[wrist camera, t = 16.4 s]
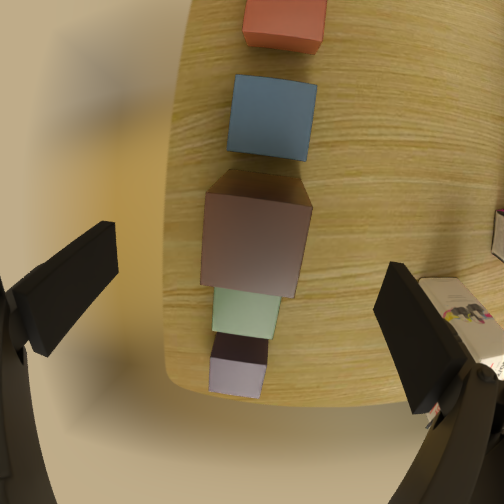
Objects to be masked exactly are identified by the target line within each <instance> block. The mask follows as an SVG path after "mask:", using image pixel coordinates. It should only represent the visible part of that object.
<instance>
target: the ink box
mask: <svg viewBox="0 0 504 504" xmlns="http://www.w3.org/2000/svg"><path fill="white" fill-rule="evenodd" d="M418 284H419V285H420V286H421V288H422V289H423V290H424V292H425V293H426V295H427V296H428V298H429V299H430V300H431V302H432V303H433V305H434V306H435V308H436V309H437V311H438V312H439V314H440V315H441V317H442V318H445V319H446V320H447V321H448V322H449V323H450V324H451V325H453V327H454V328H455V330H456V331H457V333H458V336H460V337H461V339H462V342H464V344H465V345H466V347H467V349H468V350H469V352H470V353H471V355H472V357H473V358H474V360H475V362H476V363H483V364H485V365H488V366H489V367H490V368H492V369H493V370H494V372H495V373H496V374H497V376H498V379H499V380H503V379H504V330H503V329H502V328H501V326H500V325H499V324H498V323H497V322H496V321H495V319H494V318H493V317H492V316H491V315H490V313H489V312H488V311H487V310H486V309H485V308H484V306H483V305H482V304H481V303H480V302H479V301H478V300H477V299H476V297H475V296H474V295H473V294H472V293H471V292H470V291H469V290H468V289H467V288H466V287H465V286H464V284H463V283H462V282H461V281H460V280H459V279H458V278H421V279H420V280H419V283H418ZM439 411H440V407H439V405H438V402H437V403H436V405H435V406H434V407H433V408H432V410H431V411H430V412H429V413H426V415H427V418H428V421H429V423H430V421H431V420H432V419H433V418H434V417H435V416H436V414H437V413H438V412H439Z"/></svg>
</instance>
